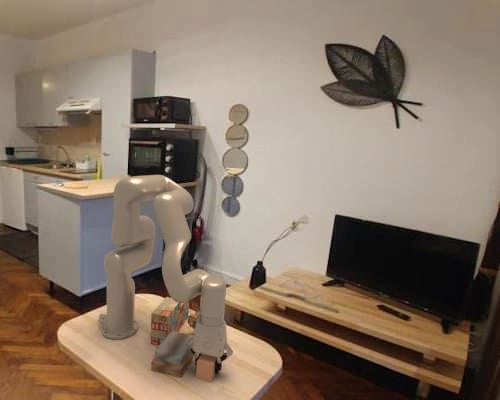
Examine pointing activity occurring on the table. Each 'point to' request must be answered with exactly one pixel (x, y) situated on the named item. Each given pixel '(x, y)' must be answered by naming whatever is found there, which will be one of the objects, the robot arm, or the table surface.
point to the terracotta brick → (206, 367)
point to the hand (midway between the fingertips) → (208, 368)
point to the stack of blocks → (167, 319)
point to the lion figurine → (192, 320)
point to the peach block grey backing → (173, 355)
